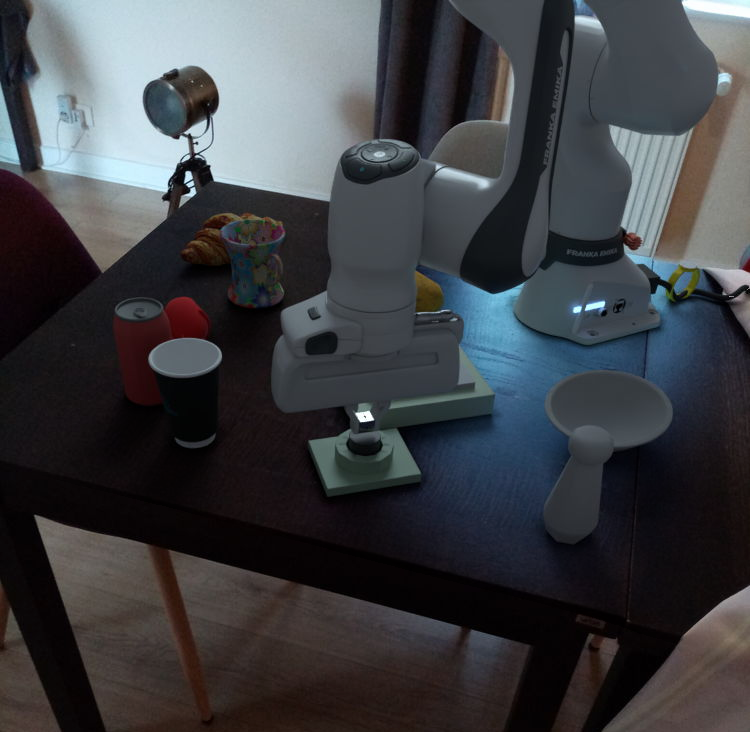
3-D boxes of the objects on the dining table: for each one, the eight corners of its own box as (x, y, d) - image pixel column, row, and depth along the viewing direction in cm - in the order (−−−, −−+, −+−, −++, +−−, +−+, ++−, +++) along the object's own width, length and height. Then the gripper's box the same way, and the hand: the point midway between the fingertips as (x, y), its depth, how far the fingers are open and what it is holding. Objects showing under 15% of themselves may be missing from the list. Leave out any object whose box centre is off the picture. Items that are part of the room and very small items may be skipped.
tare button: (374, 435, 91) (375, 423, 90) (384, 454, 88) (385, 442, 87) (344, 440, 90) (345, 427, 89) (353, 459, 87) (354, 446, 86)
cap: (219, 350, 108) (216, 310, 104) (177, 359, 106) (172, 320, 102) (198, 323, 113) (194, 285, 109) (158, 332, 111) (152, 293, 107)
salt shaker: (592, 554, 82) (625, 457, 73) (537, 545, 82) (563, 447, 74) (592, 517, 86) (623, 421, 77) (540, 508, 87) (565, 412, 78)
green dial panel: (395, 435, 95) (397, 415, 93) (420, 481, 89) (423, 461, 87) (308, 448, 93) (307, 428, 91) (327, 497, 86) (327, 476, 84)
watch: (683, 291, 129) (695, 257, 125) (696, 298, 127) (709, 264, 123) (657, 298, 127) (669, 263, 123) (670, 306, 125) (682, 271, 121)
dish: (616, 499, 89) (628, 465, 85) (511, 443, 95) (518, 410, 92) (683, 433, 99) (696, 401, 96) (584, 387, 106) (593, 355, 102)
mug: (214, 295, 120) (207, 227, 113) (265, 280, 124) (262, 214, 117) (256, 327, 113) (252, 258, 106) (309, 310, 118) (308, 242, 111)
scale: (446, 350, 111) (450, 326, 109) (492, 413, 100) (496, 389, 97) (324, 364, 107) (324, 340, 104) (357, 433, 95) (358, 407, 93)
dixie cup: (147, 445, 91) (133, 364, 84) (183, 410, 97) (173, 331, 90) (207, 463, 90) (198, 382, 82) (240, 426, 95) (234, 347, 88)
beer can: (133, 413, 96) (117, 326, 88) (120, 386, 100) (103, 300, 92) (186, 401, 98) (174, 315, 91) (170, 375, 103) (158, 291, 95)
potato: (413, 338, 113) (418, 293, 108) (352, 299, 121) (353, 255, 116) (449, 324, 117) (455, 280, 112) (387, 287, 125) (390, 244, 120)
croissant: (270, 248, 141) (255, 203, 138) (306, 238, 134) (290, 190, 131) (176, 283, 128) (156, 234, 125) (210, 274, 121) (190, 221, 118)
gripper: (455, 294, 83) (440, 402, 92) (264, 312, 78) (269, 425, 87) (478, 323, 79) (460, 433, 88) (278, 344, 73) (281, 459, 83)
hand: (364, 429), depth 87 cm, fingers closed
